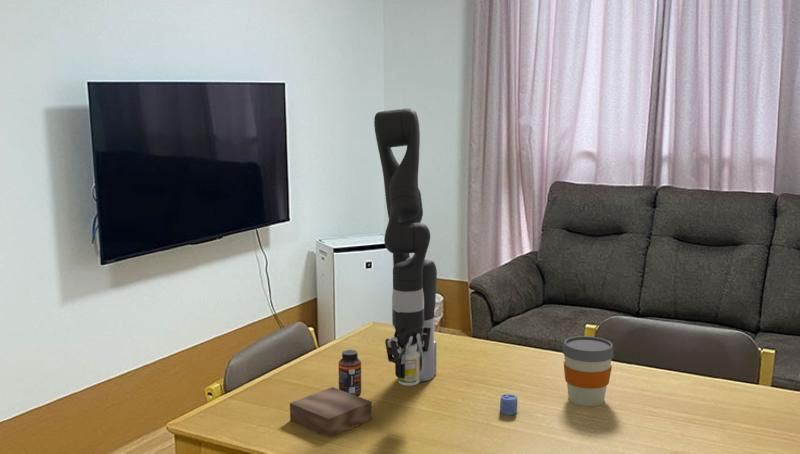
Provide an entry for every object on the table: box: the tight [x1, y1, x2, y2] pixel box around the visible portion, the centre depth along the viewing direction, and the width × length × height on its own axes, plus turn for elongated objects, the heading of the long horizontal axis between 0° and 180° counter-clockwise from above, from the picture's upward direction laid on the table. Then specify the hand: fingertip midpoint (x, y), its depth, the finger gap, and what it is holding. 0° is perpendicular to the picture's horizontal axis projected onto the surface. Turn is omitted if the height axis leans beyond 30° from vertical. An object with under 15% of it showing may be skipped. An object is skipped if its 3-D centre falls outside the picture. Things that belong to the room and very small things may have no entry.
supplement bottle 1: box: [338, 349, 362, 396], centre depth 217 cm, size 6×6×11 cm
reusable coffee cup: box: [562, 335, 614, 407], centre depth 212 cm, size 13×13×15 cm
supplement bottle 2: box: [397, 343, 420, 386], centre depth 198 cm, size 5×5×10 cm
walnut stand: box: [289, 386, 373, 438], centre depth 201 cm, size 14×14×4 cm
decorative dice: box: [499, 393, 518, 416], centre depth 206 cm, size 4×4×4 cm
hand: (408, 373), depth 199 cm, fingers closed on supplement bottle 2, 5 cm apart
